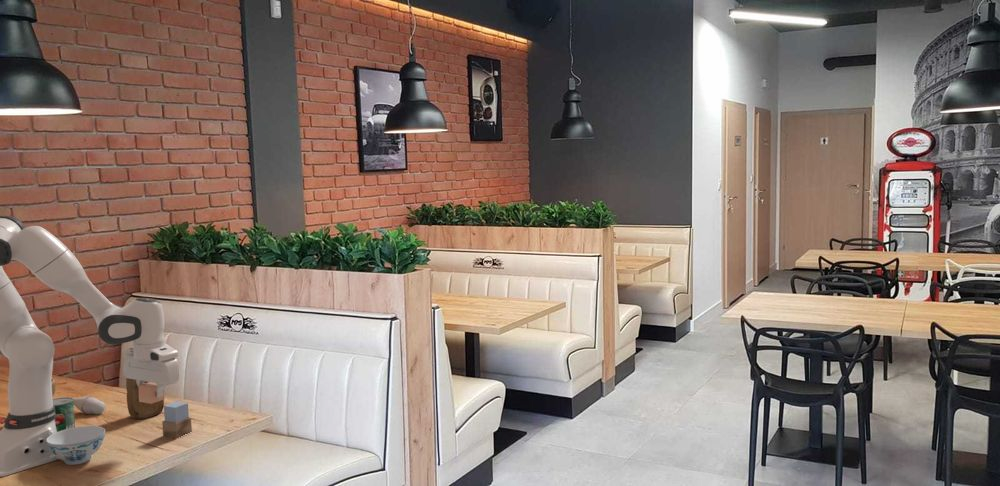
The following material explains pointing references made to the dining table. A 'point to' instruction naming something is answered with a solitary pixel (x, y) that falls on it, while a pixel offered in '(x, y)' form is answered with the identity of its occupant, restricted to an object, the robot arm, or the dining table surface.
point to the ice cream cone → (89, 405)
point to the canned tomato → (64, 413)
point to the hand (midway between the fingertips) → (151, 395)
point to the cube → (149, 393)
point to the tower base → (176, 428)
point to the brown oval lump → (140, 408)
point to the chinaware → (76, 443)
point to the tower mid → (176, 412)
